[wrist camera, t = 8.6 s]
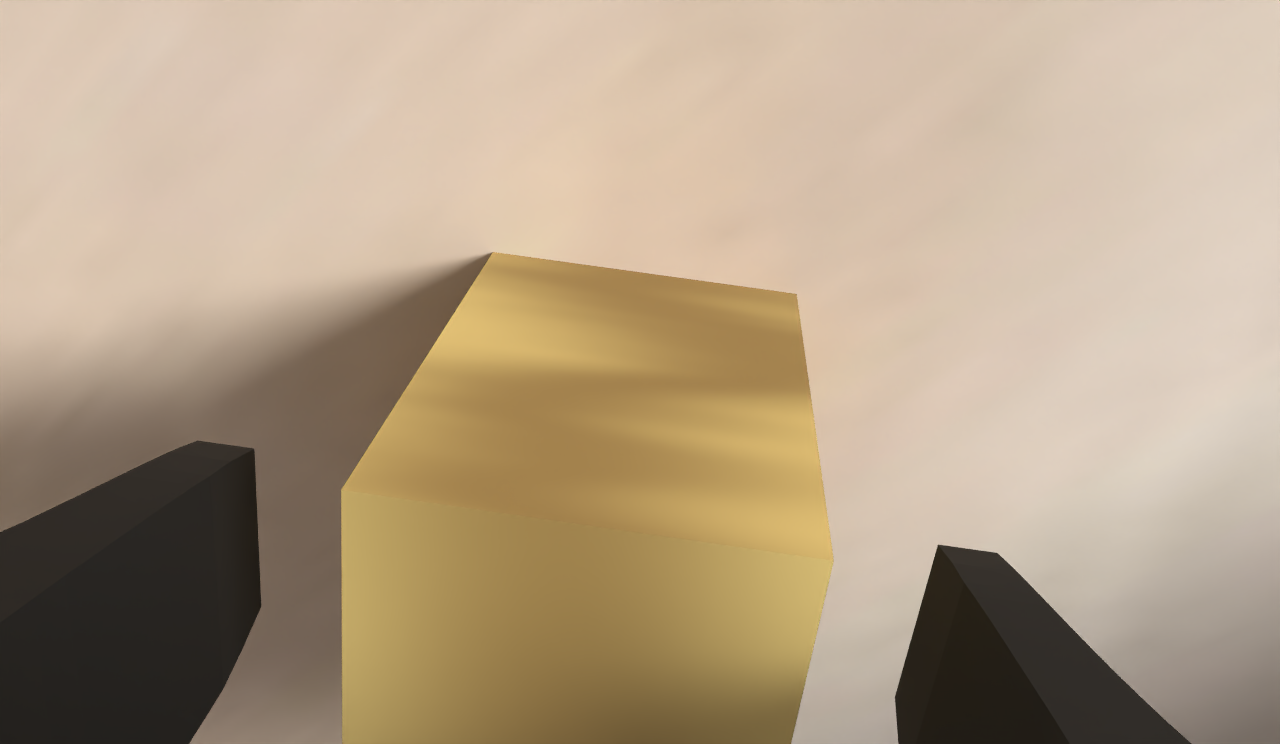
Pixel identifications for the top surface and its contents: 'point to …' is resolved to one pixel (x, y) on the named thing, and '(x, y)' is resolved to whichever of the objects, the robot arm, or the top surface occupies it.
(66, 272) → the top surface
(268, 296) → the top surface
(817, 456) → the block
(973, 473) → the top surface
